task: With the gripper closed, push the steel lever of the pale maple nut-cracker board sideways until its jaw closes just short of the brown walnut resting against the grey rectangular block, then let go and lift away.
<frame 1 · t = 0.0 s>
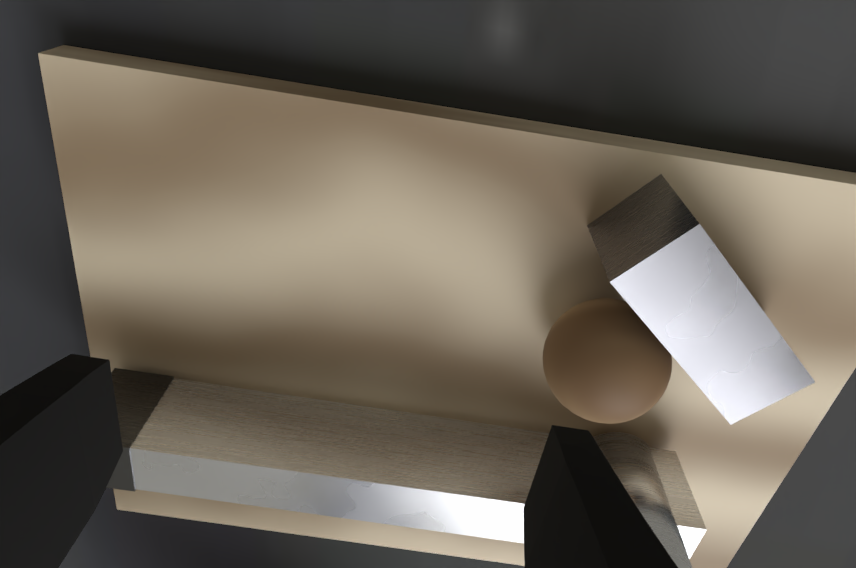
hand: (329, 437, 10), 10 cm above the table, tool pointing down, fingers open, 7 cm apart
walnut: (587, 304, 20), resting on cracker board
lever: (388, 483, 20), point 4 cm above the table, hinge at 0.0°
grey rectangular block: (667, 252, 19), resting on cracker board
cracker board: (455, 364, 22), on the table
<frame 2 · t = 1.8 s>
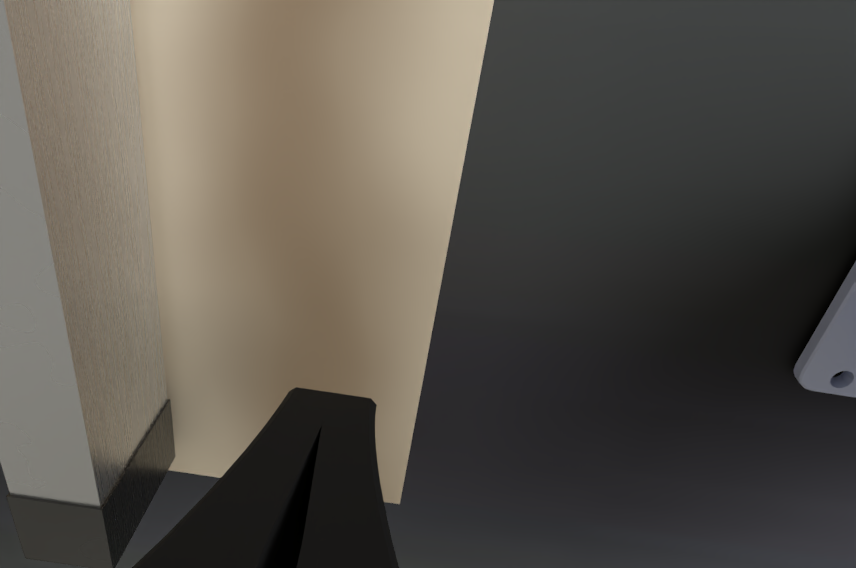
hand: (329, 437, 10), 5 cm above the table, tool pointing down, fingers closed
lever: (1, 105, 9), point 4 cm above the table, hinge at 0.0°
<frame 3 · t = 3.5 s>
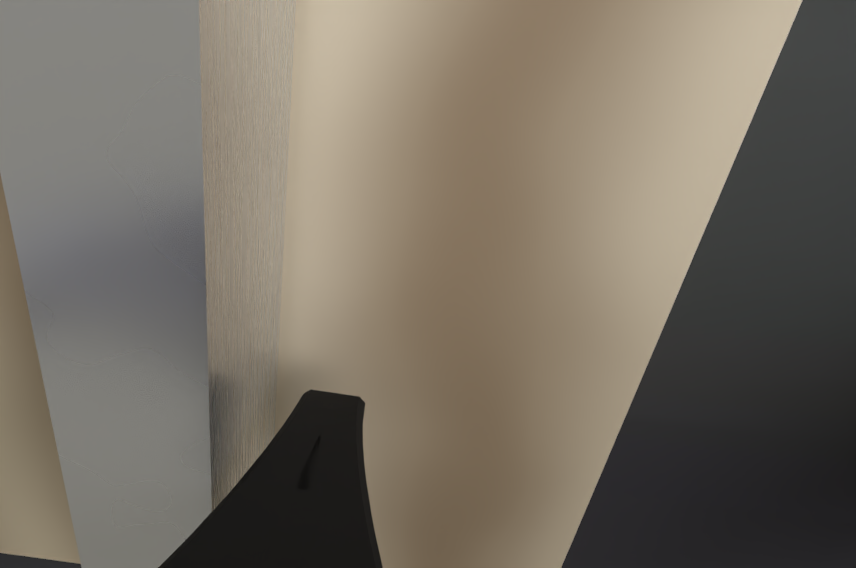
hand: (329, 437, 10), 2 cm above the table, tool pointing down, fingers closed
lever: (149, 230, 7), point 4 cm above the table, hinge at 0.9°, touching gripper
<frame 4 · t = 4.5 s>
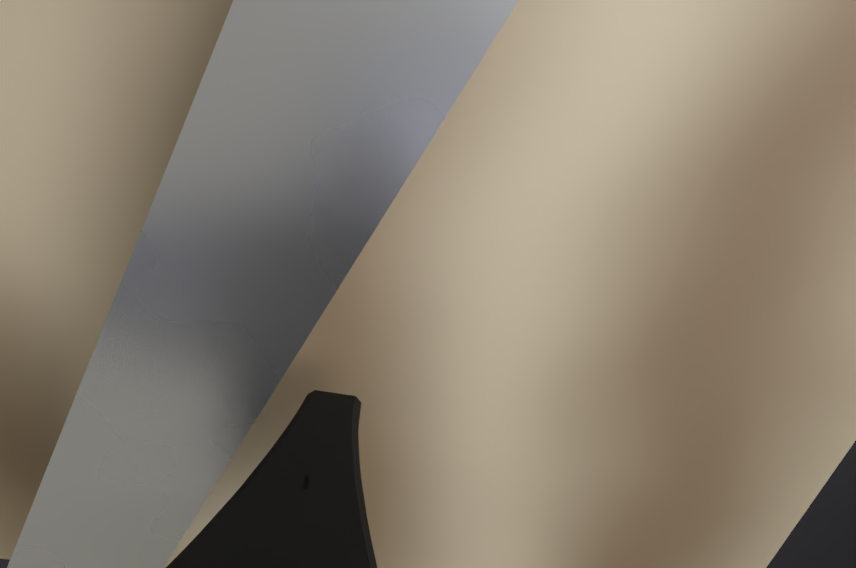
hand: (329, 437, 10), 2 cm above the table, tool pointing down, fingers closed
lever: (274, 206, 6), point 4 cm above the table, hinge at 22.8°, touching gripper
cracker board: (411, 39, 9), on the table
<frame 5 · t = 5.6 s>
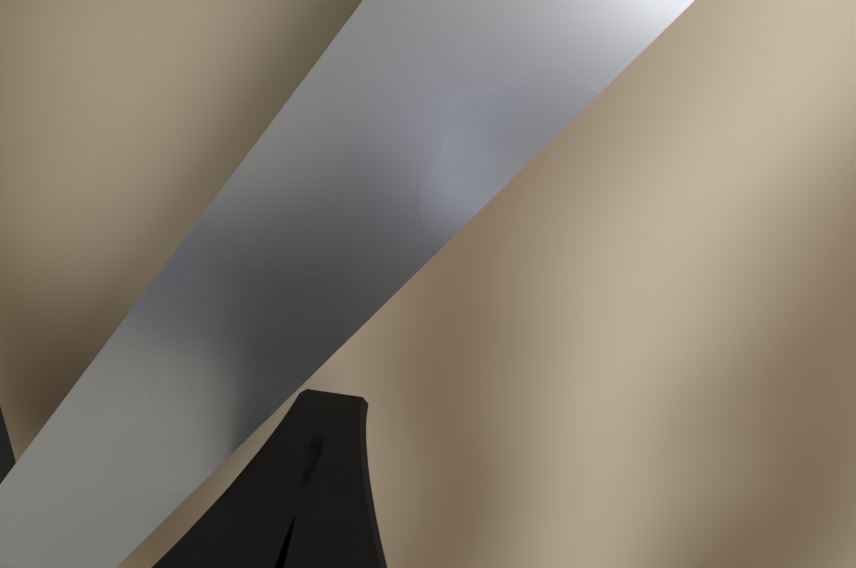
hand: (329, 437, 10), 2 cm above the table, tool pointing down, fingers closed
lever: (369, 159, 6), point 4 cm above the table, hinge at 32.7°, touching gripper
cracker board: (551, 60, 9), on the table
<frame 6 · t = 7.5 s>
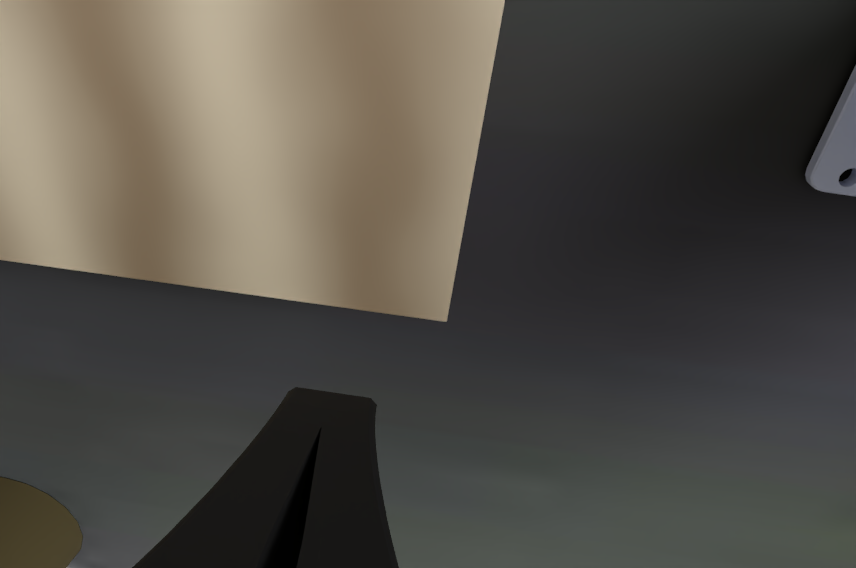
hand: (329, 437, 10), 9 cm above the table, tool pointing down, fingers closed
cork: (15, 520, 27), on the table
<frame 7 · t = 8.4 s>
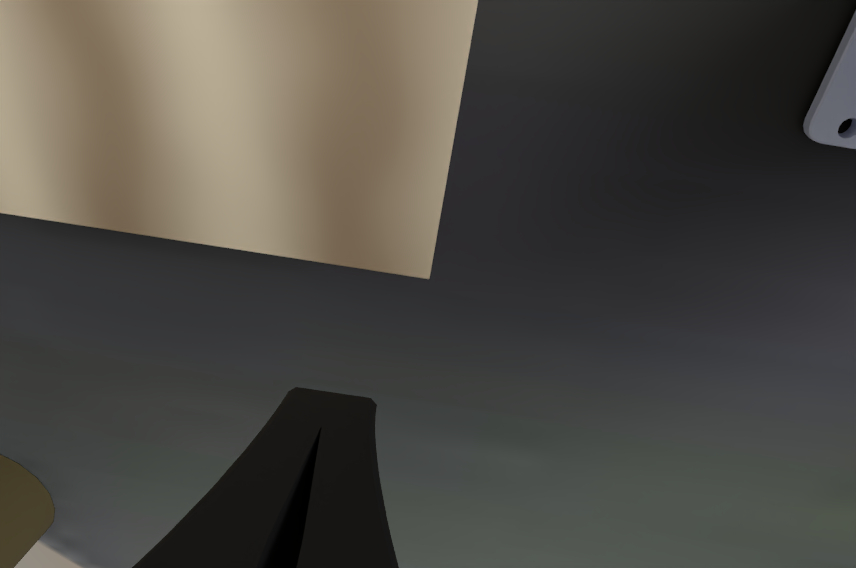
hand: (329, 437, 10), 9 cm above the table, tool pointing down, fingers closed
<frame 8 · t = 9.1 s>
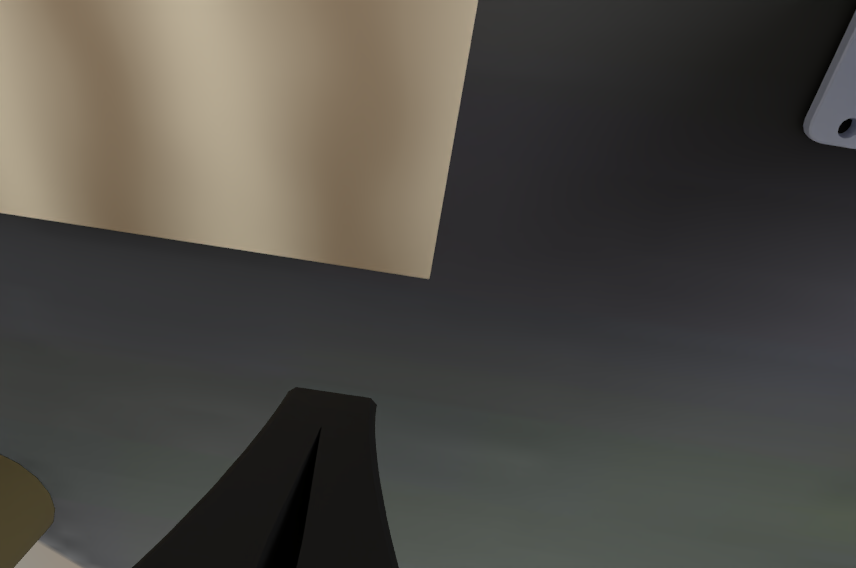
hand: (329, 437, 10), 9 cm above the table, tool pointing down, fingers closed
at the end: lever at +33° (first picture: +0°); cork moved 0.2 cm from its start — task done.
